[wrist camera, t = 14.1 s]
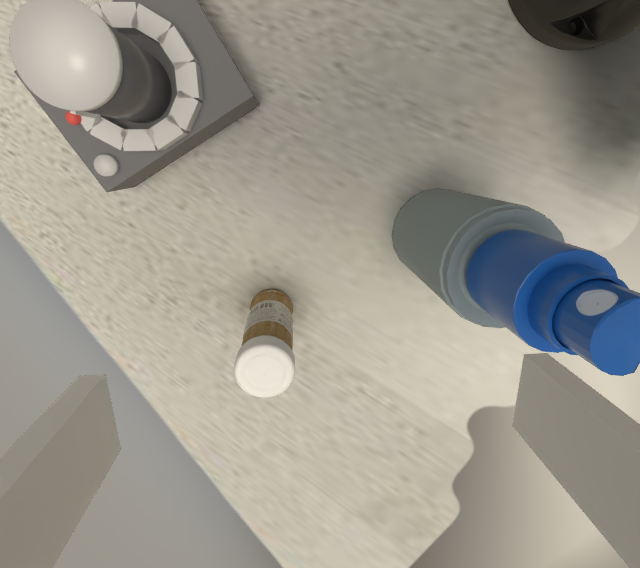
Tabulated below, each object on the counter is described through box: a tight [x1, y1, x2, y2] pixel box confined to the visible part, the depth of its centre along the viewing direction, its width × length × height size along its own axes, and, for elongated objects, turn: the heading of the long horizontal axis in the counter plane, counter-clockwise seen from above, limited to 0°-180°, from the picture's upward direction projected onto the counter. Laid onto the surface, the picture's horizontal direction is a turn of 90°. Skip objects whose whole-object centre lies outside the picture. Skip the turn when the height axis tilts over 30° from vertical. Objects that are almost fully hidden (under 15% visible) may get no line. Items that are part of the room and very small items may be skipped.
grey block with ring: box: [14, 0, 259, 192], centre depth 31 cm, size 14×10×8 cm
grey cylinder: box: [9, 0, 172, 123], centre depth 25 cm, size 5×5×10 cm
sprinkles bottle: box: [234, 289, 295, 398], centre depth 36 cm, size 5×5×13 cm
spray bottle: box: [392, 189, 640, 376], centre depth 29 cm, size 9×9×25 cm
